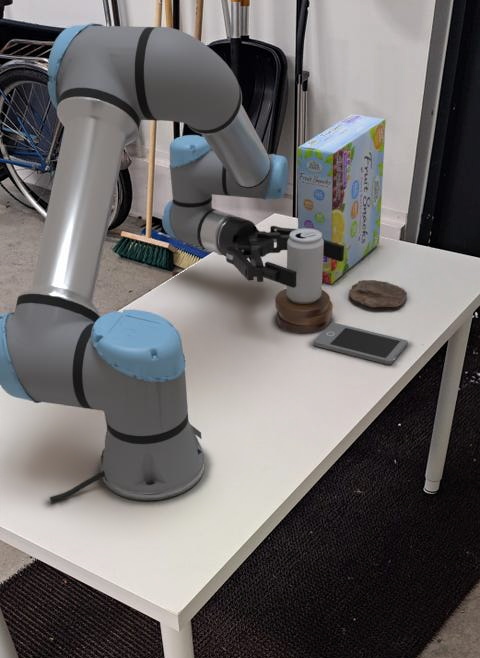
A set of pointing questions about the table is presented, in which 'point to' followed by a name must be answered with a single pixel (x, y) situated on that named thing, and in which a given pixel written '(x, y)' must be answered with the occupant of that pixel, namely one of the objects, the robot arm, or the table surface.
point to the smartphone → (360, 343)
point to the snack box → (343, 188)
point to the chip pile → (303, 313)
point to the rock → (377, 294)
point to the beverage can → (305, 264)
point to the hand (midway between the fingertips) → (319, 266)
